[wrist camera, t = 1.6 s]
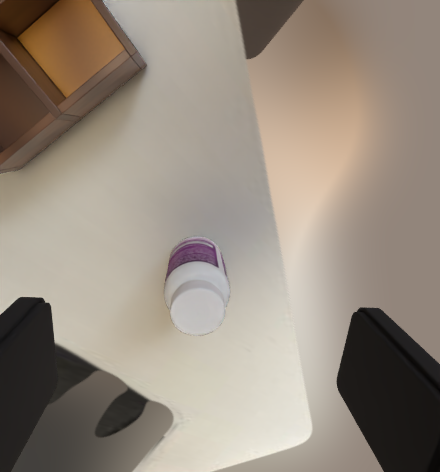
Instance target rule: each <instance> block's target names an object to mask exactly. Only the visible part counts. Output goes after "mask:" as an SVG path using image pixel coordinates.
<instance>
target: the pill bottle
mask: <svg viewBox="0 0 440 472" xmlns="http://www.w3.org/2000/svg"><path fill="white" fill-rule="evenodd" d="M164 298H165V302H166V305H167V307H168V308H169V310H170V316H171V320H172V322H173V324H174V325H175V326H176V328H177V329H179V330H180V331H181V332H183V333H185V334H188V335H193V336H201V335H206V334H209V333H211V332H213V331H214V330H216V329H217V328H218V327H219V326H220V325H221V323H222V322H223V319H224V317H225V308H226V306H227V304H228V301H229V298H230V285H229V280H228V276H227V272H226V268H225V264H224V260H223V257H222V253H221V251H220V249H219V247H218V246H217V245H216V244H215V243H214V242H213V241H211V240H209V239H207V238H205V237H200V236H194V237H188V238H185V239H184V240H182V241H180V242H179V243H178V244H177V245H176V246H175V247H174V248H173V250H172V252H171V255H170V260H169V265H168V271H167V275H166V280H165V287H164Z"/></svg>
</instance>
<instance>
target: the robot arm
mask: <svg viewBox="0 0 440 472" xmlns="http://www.w3.org/2000/svg"><path fill="white" fill-rule="evenodd" d="M57 382H58V373H57V363H56V353H55V343H54V332H53V322H52V312H51V305H50V304H49V303H45V301H44V299H43V298H35V297H20V298H18V299H17V300H16V301H15V302H14V303H13V304H12V305H11V306H10V307H8V308H7V309H6V310H5V311H4V312H3V313H2V314H1V315H0V472H11V470H12V468H13V467H14V465H15V463H16V461H17V459H18V457H19V456H20V454H21V452H22V450H23V448H24V446H25V444H26V443H27V440H28V439H29V437H30V435H31V434H32V431H33V430H34V428H35V426H36V424H37V423H38V421H39V419H40V417H41V415H42V413H43V412H44V409H45V408H46V406H47V404H48V402H49V401H50V399H51V397H52V395H53V393H54V391H55V389H56V386H57ZM337 388H338V391H339V393H340V394H341V396H342V398H343V400H344V401H345V403H346V405H347V407H348V408H349V410H350V412H351V414H352V416H353V417H354V419H355V421H356V423H357V425H358V426H359V428H360V430H361V432H362V433H363V435H364V437H365V439H366V440H367V442H368V444H369V446H370V448H371V449H372V451H373V453H374V454H375V456H376V458H377V460H378V462H379V464H380V465H381V467H382V469H383V471H384V472H440V364H439V363H438V362H437V361H435V359H433V358H432V357H431V356H430V355H429V354H428V353H427V352H426V351H425V350H424V349H423V348H422V347H421V346H420V345H419V344H417V343H416V342H415V341H414V340H413V339H412V338H411V337H410V336H409V335H408V334H407V333H406V332H405V331H404V330H402V329H401V328H400V327H399V326H398V325H397V324H396V323H395V322H394V321H393V320H392V319H391V318H389V316H387V315H386V314H385V313H384V312H383V311H382V310H381V309H379V308H359V309H358V311H357V312H354V313H353V315H352V318H351V322H350V326H349V331H348V335H347V339H346V343H345V347H344V351H343V356H342V359H341V363H340V368H339V372H338V376H337Z"/></svg>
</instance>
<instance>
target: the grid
mask: <svg viewBox="0 0 440 472" xmlns="http://www.w3.org/2000/svg"><path fill="white" fill-rule="evenodd" d="M145 66H147V64H146V63H145V61H144V60H143V58H142V57H141V55H140V54H139V53H138V51H137V50H136V48H135V47H134V45H133V44H132V43H131V41H130V40H129V38H128V37H127V35H126V34H125V33H124V31H123V30H122V28H121V27H120V26H119V24H118V23H117V21H116V20H115V18H114V17H113V16H112V14H111V13H110V11H109V10H108V9H107V7H106V6H105V4H104V3H103V1H102V0H0V174H1V173H6V172H11V171H16V170H20V169H21V168H22V167H23V166H24V165H26V164H27V163H28V162H29V161H31V160H32V159H33V158H34V157H35V156H37V155H38V154H39V153H40V152H42V151H43V150H44V149H45V148H46V147H48V146H49V145H50V144H51V143H53V142H54V141H55V140H56V139H57V138H59V137H60V136H61V135H62V134H64V133H65V132H66V131H67V130H68V129H70V128H71V127H72V126H73V125H75V124H76V123H77V122H78V121H79V120H81V119H82V118H83V117H84V116H86V115H87V114H88V113H89V112H90V111H92V110H93V109H94V108H95V107H97V106H98V105H99V104H100V103H101V102H103V101H104V100H105V99H106V98H108V97H109V96H110V95H111V94H112V93H114V92H115V91H116V90H117V89H119V88H120V87H121V86H122V85H123V84H125V83H126V82H127V81H128V80H130V79H131V78H132V77H133V76H134V75H136V74H137V73H138V72H139V71H141V70H142V69H143V68H144V67H145Z"/></svg>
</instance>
